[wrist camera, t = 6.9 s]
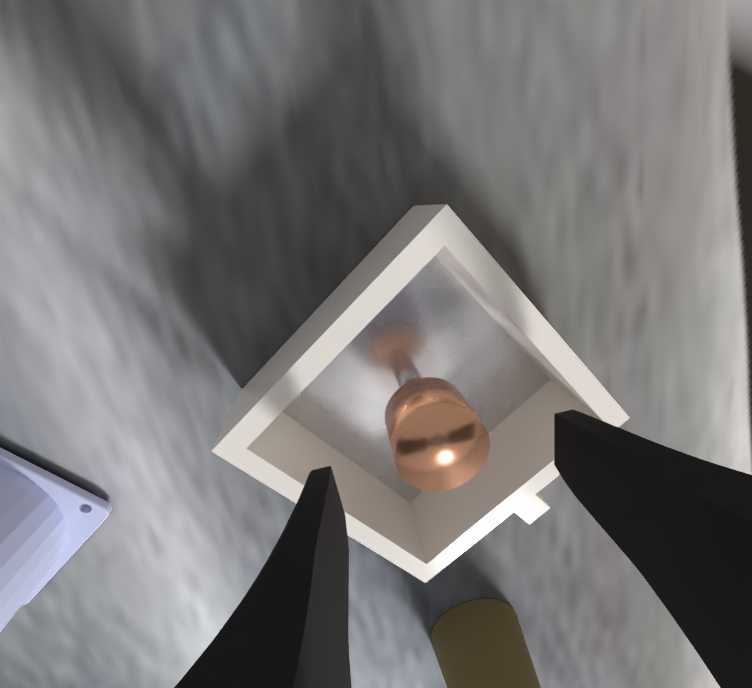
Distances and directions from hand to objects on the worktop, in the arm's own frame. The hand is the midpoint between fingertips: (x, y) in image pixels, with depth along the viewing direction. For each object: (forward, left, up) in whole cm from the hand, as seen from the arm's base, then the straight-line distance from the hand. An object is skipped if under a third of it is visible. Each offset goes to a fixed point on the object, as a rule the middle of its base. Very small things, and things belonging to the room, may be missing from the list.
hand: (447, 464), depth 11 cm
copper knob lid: (0, 0, -6) cm, 6 cm away
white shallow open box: (0, 0, -6) cm, 6 cm away
